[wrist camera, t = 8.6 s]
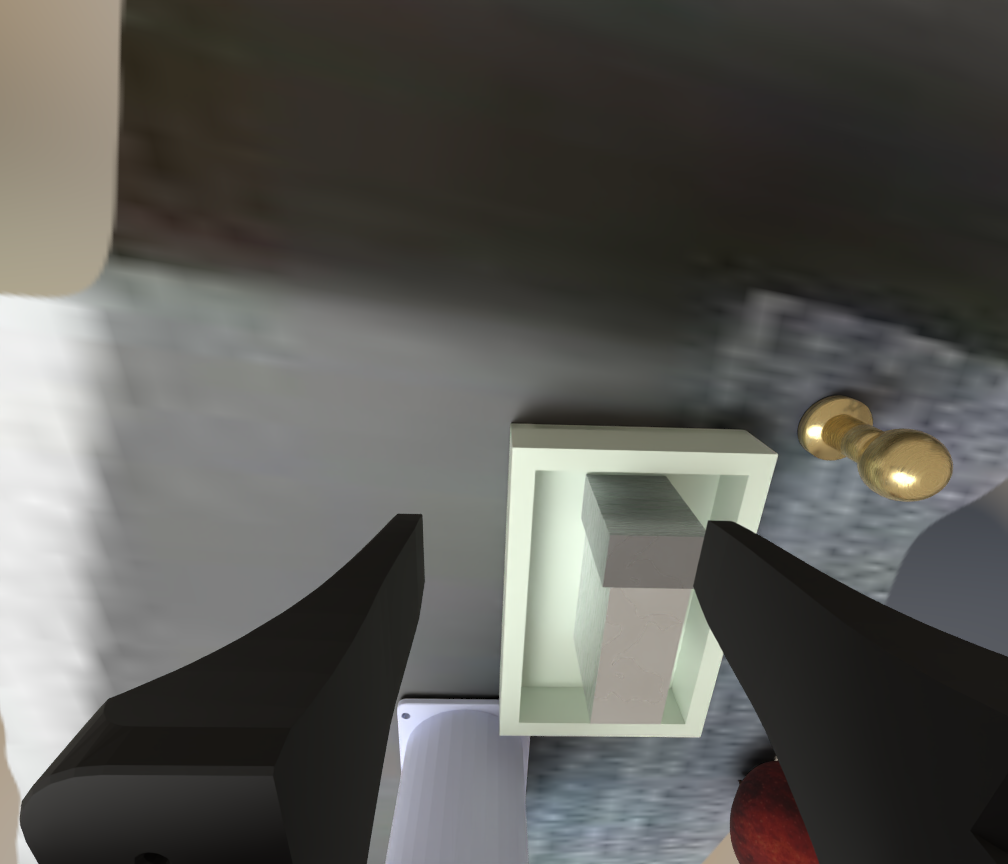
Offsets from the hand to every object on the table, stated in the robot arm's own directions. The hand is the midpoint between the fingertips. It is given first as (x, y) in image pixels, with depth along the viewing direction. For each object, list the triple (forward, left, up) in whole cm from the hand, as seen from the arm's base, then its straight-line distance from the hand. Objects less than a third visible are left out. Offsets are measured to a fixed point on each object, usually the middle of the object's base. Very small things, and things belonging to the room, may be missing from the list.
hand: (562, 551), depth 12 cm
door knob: (0, -14, -10) cm, 17 cm away
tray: (-9, -5, -10) cm, 14 cm away
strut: (-8, -5, -10) cm, 13 cm away
